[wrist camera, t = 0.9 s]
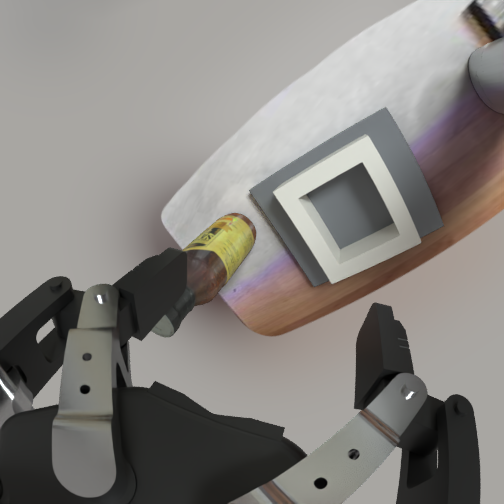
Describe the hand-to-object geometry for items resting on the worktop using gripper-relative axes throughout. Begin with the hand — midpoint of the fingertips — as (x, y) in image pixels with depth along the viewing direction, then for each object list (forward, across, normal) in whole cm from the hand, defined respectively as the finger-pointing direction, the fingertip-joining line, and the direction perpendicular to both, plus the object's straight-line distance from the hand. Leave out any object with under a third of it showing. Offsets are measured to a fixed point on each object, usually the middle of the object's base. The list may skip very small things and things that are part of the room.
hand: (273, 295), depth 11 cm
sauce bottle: (+26, +10, +9) cm, 29 cm away
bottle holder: (+25, -5, +1) cm, 25 cm away
